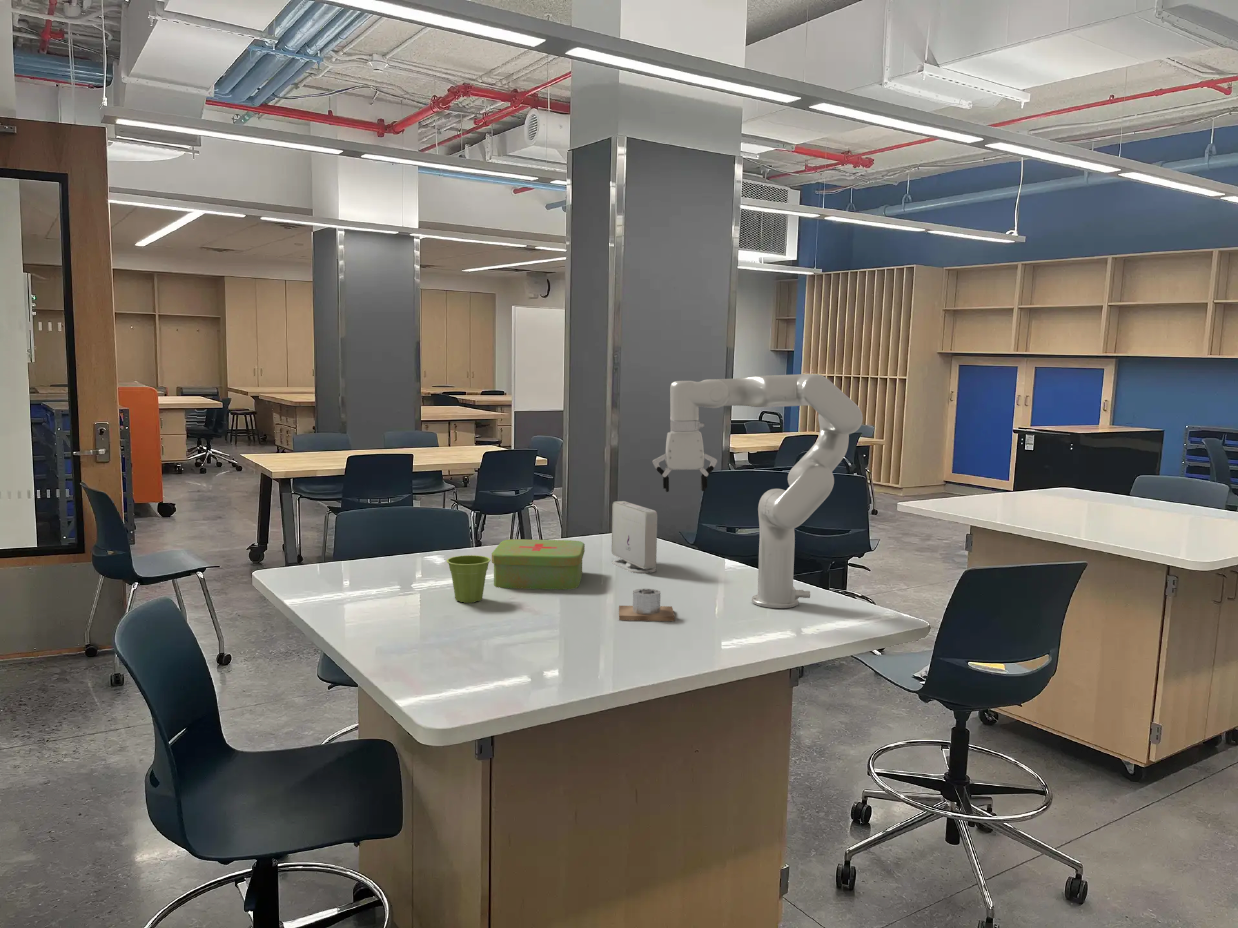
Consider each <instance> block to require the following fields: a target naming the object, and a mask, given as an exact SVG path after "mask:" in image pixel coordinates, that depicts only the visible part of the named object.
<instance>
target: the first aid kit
mask: <svg viewBox="0 0 1238 928" xmlns="http://www.w3.org/2000/svg"><path fill="white" fill-rule="evenodd" d="M585 545H586V544H585V543H584V542H583V541H580V540H569V539H565V540H563V539H526V538H525V539H519V538H517V539H515V538H514V539H511V538H510V539H504V540H502V541H500V542H499V544H498V545H497V546H496V548H495V549H494V550H493V551H492V552H491V563H492V564H493V586H494V587H496V588H499V587H500V588H501V589H527V590H528V589H531V590H532V589H533V590H535V589H537V590H574V589H578V587H579V586H580V583H581V579H582V576H583V558H584V555H585V551H586V550H585V549H586V548H585Z"/></svg>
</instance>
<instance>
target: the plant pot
mask: <svg viewBox="0 0 1238 928" xmlns="http://www.w3.org/2000/svg"><path fill="white" fill-rule="evenodd" d="M490 562H492V558H490V557H488V556H484V555H475V554H474V555H472V554H471V555H470V554H467V555H457V556H456V555H455V556H452V557H449V558H447V559H446V563H447V564H448V566H449V567H448V568H449V571H450V576H451V580H452V585H453V592H454V597H455V598H454V599H455V601H456V602H460V603H462V602H464V603H463V604H466V603H467V604H468V603H469V604H472V602H473V603H475V602H477V601H478V602H481V601H483V597H484V590H485V583H486V577H487V571H488V567H489V563H490Z"/></svg>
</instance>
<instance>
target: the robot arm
mask: <svg viewBox="0 0 1238 928" xmlns="http://www.w3.org/2000/svg"><path fill="white" fill-rule="evenodd" d="M669 391H670V393H669V395H670V396H669V399H670V401H669V403H670V404H669V405H670V408H669V409H670V410H669V412H670V414H669V415H670V423H669V424H670V425H669V426H670V431H669V432H667V433H666V439H665V441H666V442H665V453H664V454H661V455H660V456H659V457H656V458H654V459H653V460H652V464H653V467H654V468H655V469H656V471H657V472H658V473H659V474H660V475H661V476H662V489H664V490H665V492H666V493H669V492H670V478H669V474H670V473H671V472H672V471H689V470H690V471H694V470H698V471H699V472H700V473H701V476H700V490H701V491H702V492H705V491H706V489H707V488H708V476H709V475H710V474H711V473H712V472H713V471H714V468H715V467H716V465H717V464H718V459H717V458H715V457H713V456H710V455H709V454H707V453H705V452H704V451H705V450H704V449H705V448H704V441H703V437H702V436H703V435H702V432H701V431H700V429H703V428H705V422H701V421H700V420H699V419H700V417H699V415H700V413H699V412H700V411H699V409H700V408H702V407H703V408H708V409H709V408H710V409H718V408H721V407H732V406H737V407H738V406H739V407H741V406H743V407H751V408H774V407H775V408H778V407H798V406H799V407H801V406H802V407H805V406H808V407H809V406H810V407H811V408H813V409H814V410H815V412H817V414H818V416H817V417H818V418H817V419H818V425H819V434H818V438H817V440H816V441H815V443H814V444H813V445H812V446H811V447H810V448H809V450H808V451H807V452H806V453H805V454H804V455H803V456H802V457H801V458H800V459H799V461H797V462H796V463H795V464H794V466H793V467H792V468H791V469H790V470H789V472H788V475H787V483H788V486H789V487H787V488H786V490H785V489H782V488H771V489H769V490H767V491H765V492H764V493H763V494H762V495H761V497H760V499H759V502H758V507H757V511H758V524H759V526H758V527H759V543H758V546H759V547H758V570H757V573H758V574H757V594H755V595H753V596H752V597H751V603H753V604H754V605H755V606H759V607H763V608H770V609H790V608H794V607H797V606H798V605H799V598H803V599H810V598H811V591H810V590H804V589H796V588H795V587H794V573H795V572H794V570H795V569H794V568H795V567H794V566H795V565H794V564H795V548H796V547H795V544H796V543H795V542H796V540H795V539H796V537H795V535H796V533H795V529H796V528H798V527H800V526H801V525H802V524H803V523H804V522H806V520H808V519H809V518H810V517H811V516H812V514H814V512H815V511H816V510H817V509H818V508H819V507H820V506H821V505H822V504H823V503H824V501H826V499H827V498H828V497H829V496H830V495H831V492H832V491H833V488H834V484H835V477H834V474H833V471H834V470H835V469H836V468H837V467H838V465H839V464H841V462H842V460H843V459H844V458H845V456H846V454H847V451H848V449H849V440H850V437H849V436H850V435H851V434H854V433H855V432H857V431H858V430H859V429H860V428H861V427H862V424H863V421H864V420H863V419H864V418H863V413H862V409H860V407H859V406H858V404H857V403H855V402H854V401H853V400H852V399H851V398H850V397H849V396H848V395H846V394H845V393H844V392H843V391H842V390H841V389H840V388H839V387H837V385H835V384H834V383H833V382H832V381H831V380H830V379H829V378H827V376H824V375H822V374H818V373H817V374H816V373H811V374H810V373H803V374H802V373H801V374H797V373H796V374H780V375H779V374H776V375H775V374H774V375H769V374H768V375H755V376H750V377H749V376H748V377H740V378H739V377H738V378H719V379H718V378H716V379H715V378H712V379H709V378H708V379H703V380H701V381H695V380H676V381H675V380H674V381H673V382H671V384H670V388H669ZM699 407H700V408H699ZM705 460H707V461H709V462H710V464H709V466H708V467H707V468H706V469H705V467H704V466H705ZM663 461H665V468H664V469H663V468H662V467H661V466H660V463H661V462H663Z"/></svg>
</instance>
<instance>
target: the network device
mask: <svg viewBox="0 0 1238 928" xmlns="http://www.w3.org/2000/svg"><path fill="white" fill-rule="evenodd" d="M611 506H612V508H611V509H612V513H611V514H612V515H611V554H612V556H613V557H616V558H619V559H613V560H612V562H611V563H612V564H613V565H615V566H617V567H619V568H621V569H623V570H625V571H627V570H628V571H627V572H630V573H632V572H633V574H649V573H648V572H650V573H655V572H656V571H657V569H656V567H657V550H658V549H657V546H658V541H657V540H658V512H657V511H656V510H654V509H651V508H648V507H644V506H642V505H638V504H635V503H631V502H628V501H625V500H622V501H619V500H618V501H613V502H612V505H611ZM621 563H625V564H621ZM635 568H636V569H637V568H641V569H642V570H640V569H639V570H635Z"/></svg>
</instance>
